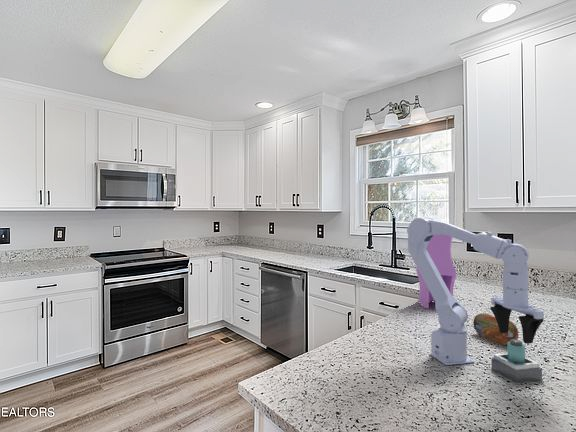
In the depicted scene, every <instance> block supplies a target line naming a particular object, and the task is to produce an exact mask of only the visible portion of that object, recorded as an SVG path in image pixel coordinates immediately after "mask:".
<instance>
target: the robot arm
mask: <svg viewBox="0 0 576 432" xmlns="http://www.w3.org/2000/svg"><path fill="white" fill-rule="evenodd" d="M406 232H407V250H408V253H409V254H410V257H411V258H412V260H413V263H414V264H415V267H417V268H418V270H419V272H420V274H421V276H422V278H423V279H424V281H425V283H426V285H427V287H428V289H429V291H430V293H431V295H432V296H433V298H434V300H435V302H434V303H435V305H434V306H435V311H436V313H437V317H438V319H437V321H438V323H439V326H440V327H439V328H438V329H436V330H433V331H432V332H431V337H430V339H431V341H430V342H431V343H430V345H431V346H430V352H429V355H431V356H432V358H435V359H436V360H437V361H439V362H441V364H444V366H452V365H454V366H455V365H461V364H463V365H464V364H471V363H475V360H473V359H472V358H470V357H469V356H468V343H467V342H468V341H467V340H468V338H467V337H468V335H467V334H468V333H467V331H468V330H467V327H466V325H465V323H466V322H467V321H468V318H469V317H468V316H469V314H468V311H467V309H466V308H465V307H464V306H462V305H461V304H460V302H459V301H458V299H457V298H456V297H455V296H454V295H453V296H452V295H451V293H450V292H449V290H448V288H447V286H446V284H445V282H444V281H443V279H442V277H441V275H440V273H439V271H438V270H437V268H436V266H435V264H434V262H433V261H432V259H431V257H430V255H429V253H428V251H427V249H426V248H427V246H428V243H429V241H430V239H431V238H432V237H433V236H434V235H442V234H444V235H447V236H450V237H453V239H456V240H458V241H461V242H465V243H468V244H471V246H472V247H473V249H474V251H476V252H479V253H482V254H484V255H487V256H489V257H492V258H494V259H497V260H500V259H501V260H502V262H503V270H502V297H498V296H496V297H495V296H494V297H491V298H490V299H491V303H490V304H491V305H493V306H490V311H491V312H492V313H493V314H492V315H493V316H495V318H496V321H497V324H498V327H499V331H500V332H501V333H508V330H509V320H510V318H511V313H512V311H514V312H517V313H520V314H523V315H519V316H518V319H519V320H518V321H520V324H521V331H522V342H523V344H533V343H534V339H535V336H536V333H537V331H538V330H539V327H540V326H541V325H542V324H543V322H544V310H540V309H538V308H536V307H534V306H532V305H531V303H530V302H529V271H528V269H529V265H528V259H529V257H530V254H529V250H528V249H527V247H526V246H524V245H522V244H521V243H519V242H512V239H509V238H507V239H505V238H501V237H498V236H496V235H494V232H492V231H487V233H486V232H484V231H481V232H479V233H474V232H471V231H469V230H466V229H464V228H461V227H459V226H456V225H453V224H451V223H448V222H446V221H443V220H439V219H434V218H432V217H423V218H422V217H416V218H414V219H412V220H411V221H410V223H409V225H408V228H407V229H406Z"/></svg>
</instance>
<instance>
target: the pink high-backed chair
mask: <svg viewBox="0 0 576 432" xmlns="http://www.w3.org/2000/svg"><path fill="white" fill-rule="evenodd" d="M453 239H454V238H453V237H450V236H447V235H444V234H442V235H434V236H433V237H432V238H431V239H430V241H429V243H428V246H427V248H426V249H427V251H428V253H429V255H430V257H431V259H432V261H433V262H434V264H435V266H436V268H437V270H438V271H439V273H440V275H441V277H442V279H443V281H444V282H445V284H446V286H447V288H448V290H449V292H450V293H451V295H452V296H453V297H454V288H455V287H454V286H455V281H456V277H457V270H456V268H455V266H454V265H455V264H454V263H453V259H452V253H451V250H452V249H451V248H452V242H453ZM415 267H416V268H415V269H416V270H415V271H416V275H417V279H418V284H419V294H418V301H417V302H420V303H421V304H422V305H423V306H424V307H425V308H428V309H429V303H430V302H429V301H435V300H434V298H433V296H432V295H431V293H430V291H429V289H428V287H427V285H426V283H425V281H424V279H423V278H422V276H421V274H420V272H419V270H418V268H417V266H415ZM423 306H422V307H423ZM424 307H423V308H424ZM425 308H424V309H425Z"/></svg>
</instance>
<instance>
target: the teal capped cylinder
mask: <svg viewBox="0 0 576 432" xmlns="http://www.w3.org/2000/svg"><path fill="white" fill-rule="evenodd" d="M506 346H507V348H506V349H507V350H506V353H507V360H509V361H510V362H512V363H514V364H524V363H525V357H526V345H525V343H523V340H522V341H521V340H519V339H518V340H515V339H511V340H510V341H509V342H507V345H506Z"/></svg>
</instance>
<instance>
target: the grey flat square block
mask: <svg viewBox="0 0 576 432" xmlns="http://www.w3.org/2000/svg"><path fill="white" fill-rule="evenodd" d="M491 370H493V371H495V372H496V373H498V374H500V375H501V376H503V377H505V378H507V379H509V380H510V381H512V382H514V383H515V384H519V383H528V382H536V381H543V368H542V367H540V363H538V362H537V361H535V360H533V359H532V358H531V359H530V358H528V357H526V356H525V363H524V364H514V363H512V362H510V361H509V360H507V352H506V353H505V352H504V353H496V354H495V353H494V354H493V357H491Z"/></svg>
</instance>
